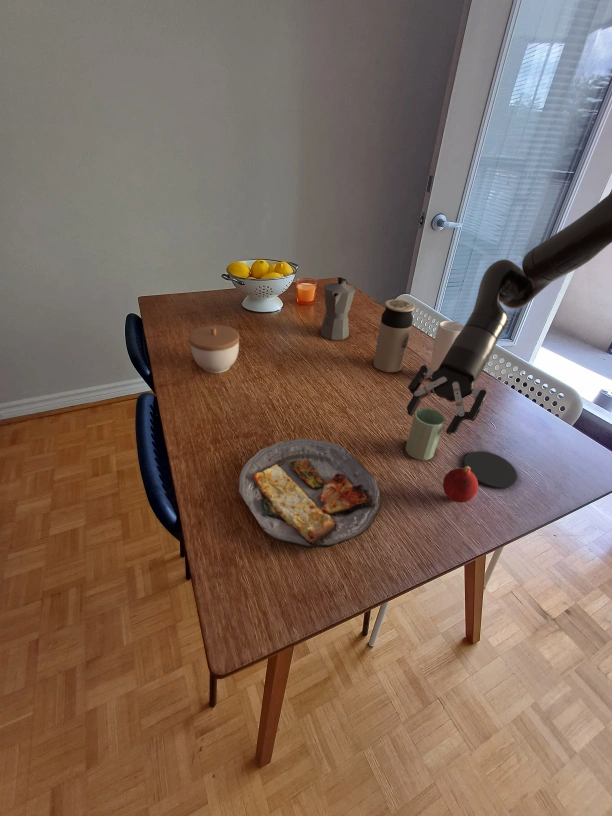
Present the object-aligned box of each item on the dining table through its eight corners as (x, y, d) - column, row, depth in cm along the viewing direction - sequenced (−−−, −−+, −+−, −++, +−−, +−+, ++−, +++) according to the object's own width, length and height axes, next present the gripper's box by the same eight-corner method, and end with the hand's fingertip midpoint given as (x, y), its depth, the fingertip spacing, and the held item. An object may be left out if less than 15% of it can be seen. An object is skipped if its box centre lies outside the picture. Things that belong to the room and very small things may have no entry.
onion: (470, 516, 70) (485, 484, 65) (437, 506, 71) (448, 474, 66) (471, 492, 74) (485, 461, 69) (439, 483, 76) (451, 452, 71)
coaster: (498, 451, 84) (499, 449, 84) (526, 486, 76) (527, 484, 76) (454, 454, 83) (455, 453, 82) (479, 490, 75) (480, 489, 74)
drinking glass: (453, 384, 105) (470, 332, 97) (428, 383, 105) (443, 331, 96) (446, 371, 111) (462, 321, 102) (422, 370, 111) (435, 319, 102)
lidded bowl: (245, 375, 103) (243, 336, 97) (195, 381, 99) (190, 341, 93) (235, 352, 113) (233, 316, 106) (189, 358, 109) (184, 320, 102)
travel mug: (367, 364, 112) (377, 302, 101) (385, 356, 116) (397, 296, 106) (389, 376, 107) (402, 313, 97) (407, 367, 112) (422, 306, 101)
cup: (426, 440, 86) (437, 407, 81) (438, 459, 81) (450, 424, 76) (401, 442, 85) (410, 408, 80) (411, 461, 80) (421, 426, 75)
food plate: (404, 515, 69) (409, 502, 67) (289, 580, 58) (290, 566, 56) (322, 434, 85) (324, 421, 83) (221, 473, 75) (219, 459, 72)
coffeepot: (345, 345, 120) (352, 286, 110) (315, 340, 122) (319, 282, 112) (353, 325, 133) (361, 271, 122) (326, 321, 134) (331, 267, 124)
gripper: (433, 334, 80) (393, 403, 80) (504, 360, 73) (460, 436, 72) (438, 349, 87) (401, 413, 86) (504, 374, 79) (463, 444, 79)
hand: (428, 423), depth 79 cm, fingers open, 8 cm apart
